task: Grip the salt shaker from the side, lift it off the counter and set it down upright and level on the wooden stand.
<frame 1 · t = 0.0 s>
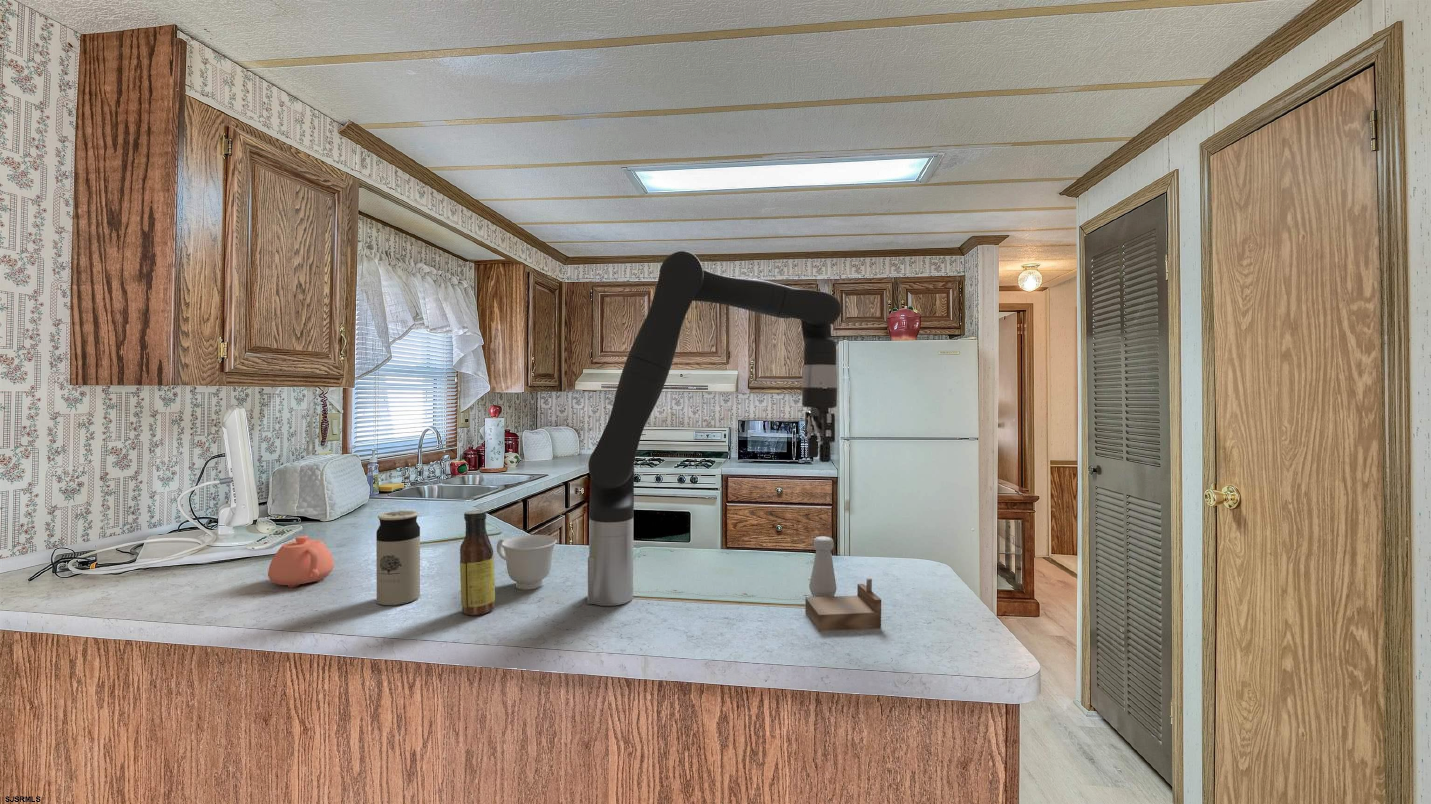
hand: (818, 459, 127), 29 cm above the counter, tool pointing down, fingers open, 8 cm apart
salt shaker: (822, 598, 124), on the counter
sugar bowl: (303, 582, 131), on the counter
wooden stand: (841, 620, 112), on the counter
teacup: (524, 585, 131), on the counter
sauce bottle: (477, 611, 115), on the counter
travel mug: (398, 600, 121), on the counter
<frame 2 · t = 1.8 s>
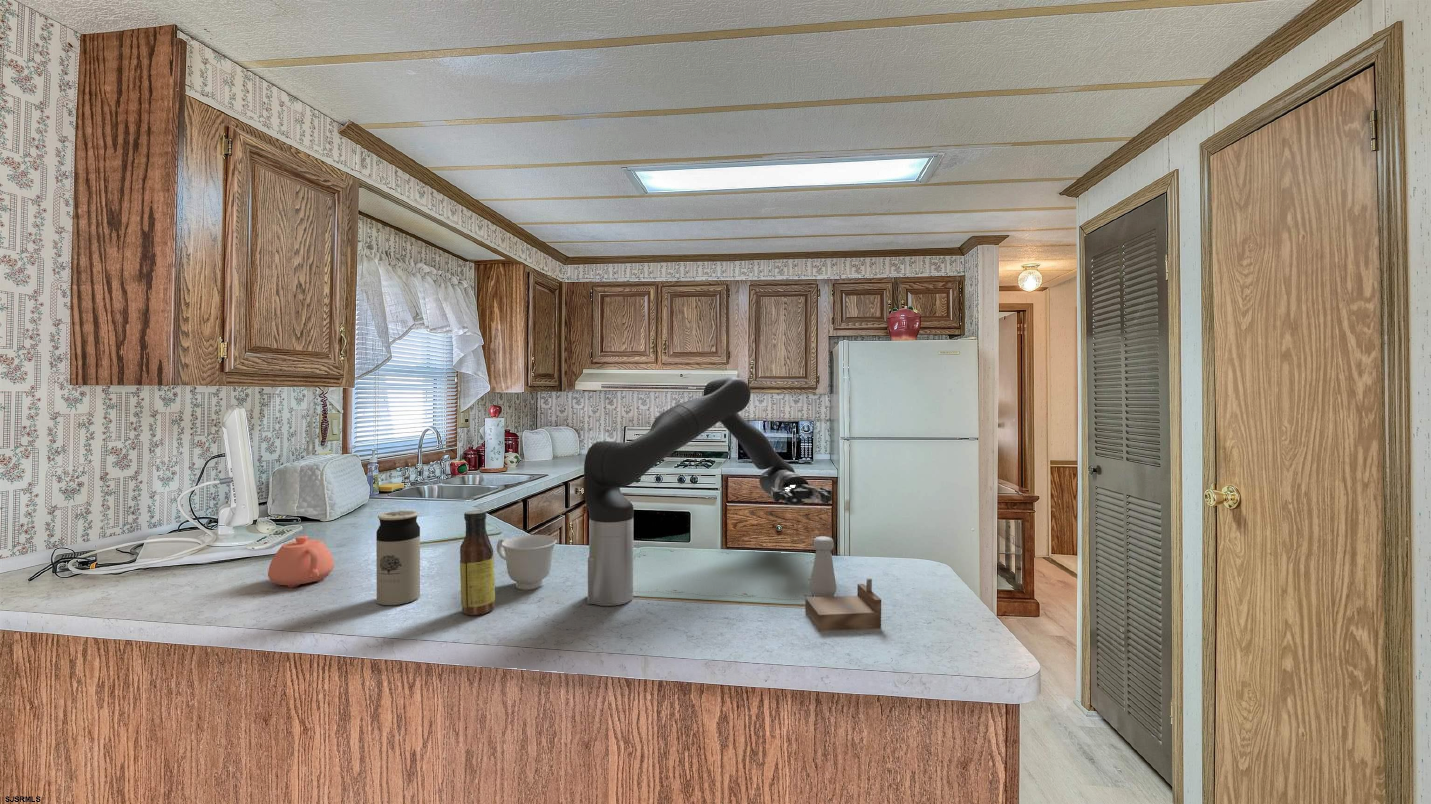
hand: (809, 499, 134), 19 cm above the counter, tool horizontal, fingers open, 8 cm apart
nothing on the counter moved.
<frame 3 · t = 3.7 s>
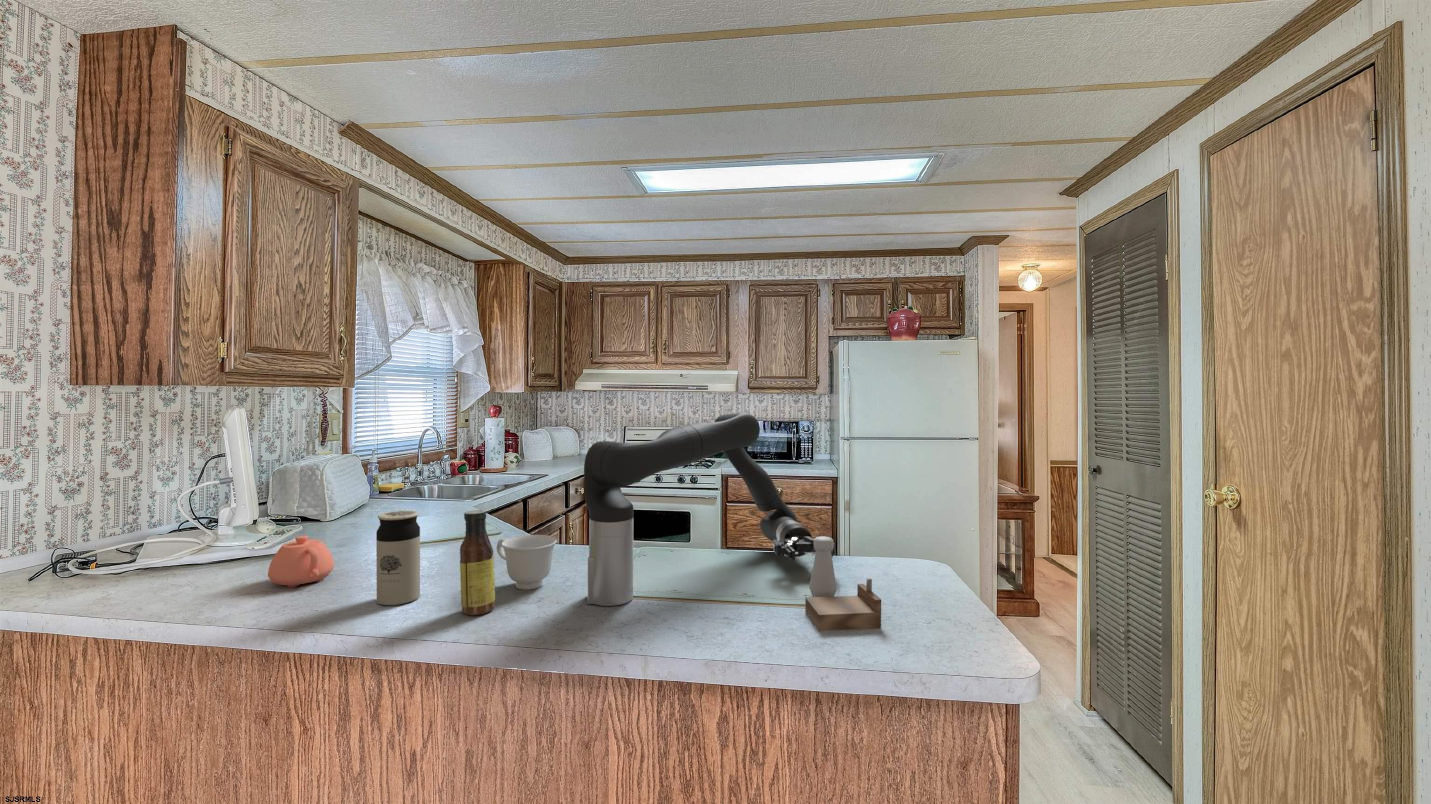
hand: (812, 555, 131), 7 cm above the counter, tool horizontal, fingers open, 8 cm apart
nothing on the counter moved.
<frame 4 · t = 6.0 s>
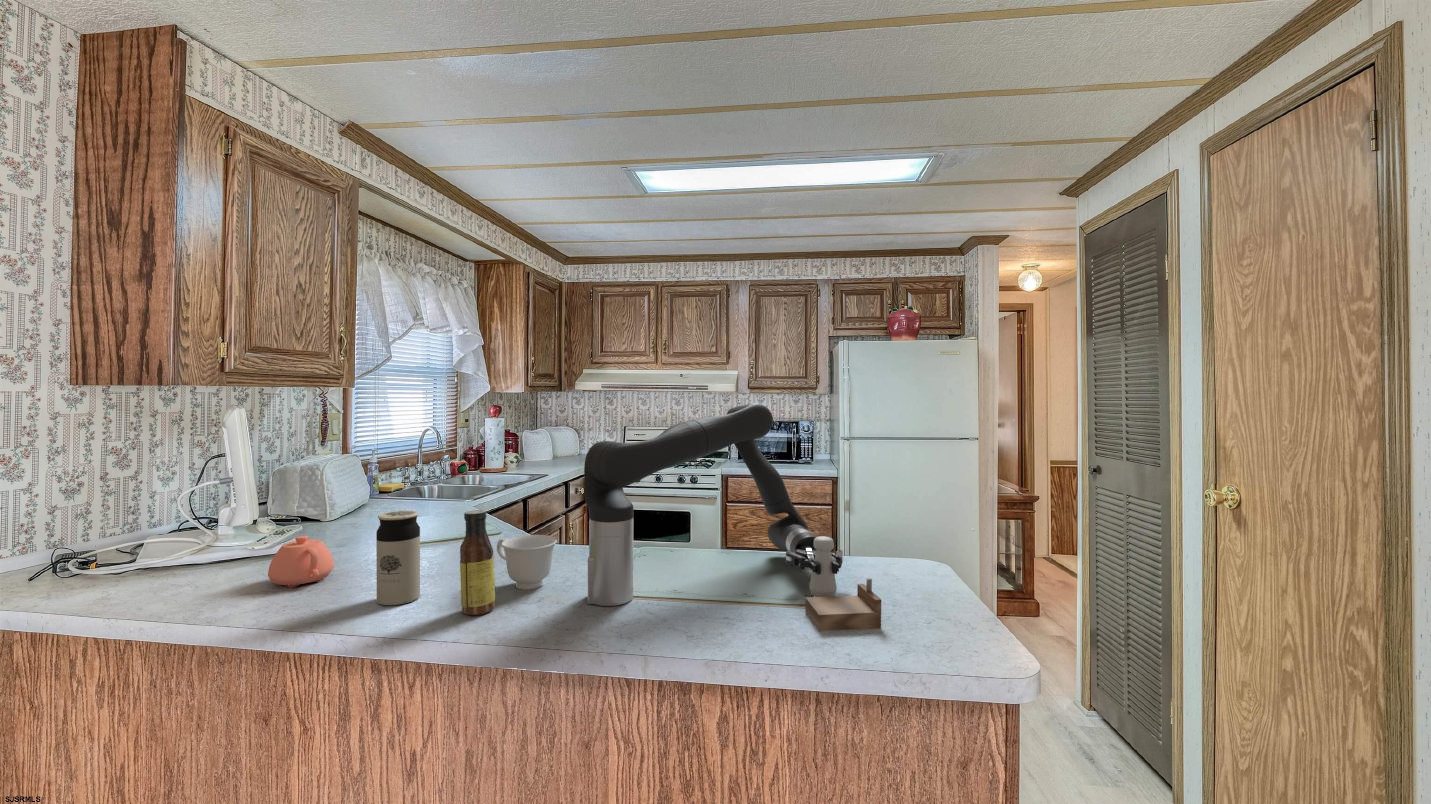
hand: (827, 569, 121), 7 cm above the counter, tool horizontal, fingers closed on salt shaker, 3 cm apart
salt shaker: (822, 598, 124), on the counter, touching gripper
everything else where it was.
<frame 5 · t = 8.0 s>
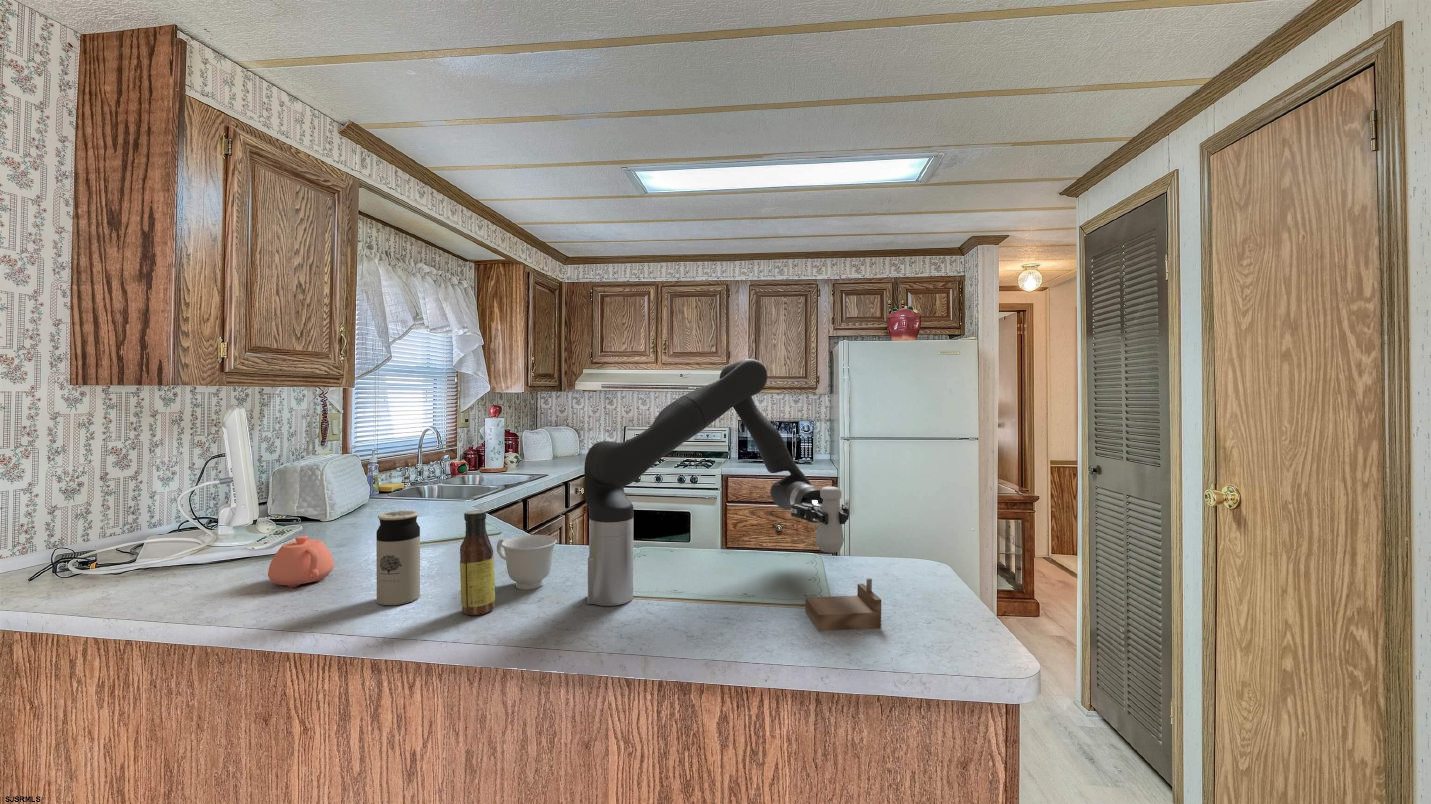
hand: (835, 519, 116), 19 cm above the counter, tool horizontal, fingers closed on salt shaker, 3 cm apart
salt shaker: (829, 550, 119), point 11 cm above the counter, touching gripper
everything else where it was.
when the fingers open (11 cm above the counter, at t = 10.1 s): salt shaker drops 1 cm, resting on wooden stand.
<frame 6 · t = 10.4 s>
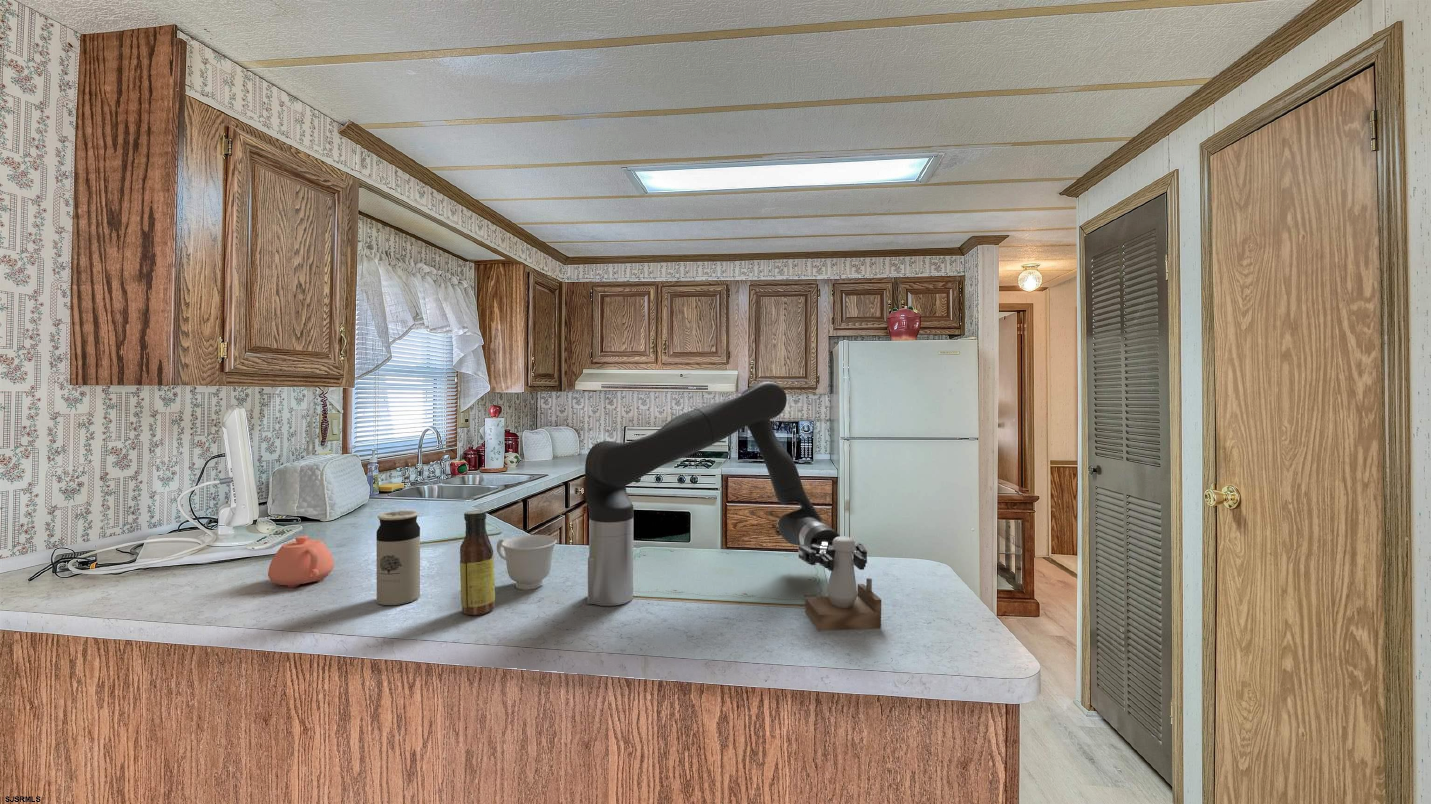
hand: (847, 565, 109), 11 cm above the counter, tool horizontal, fingers open, 5 cm apart
salt shaker: (841, 604, 112), point 3 cm above the counter, touching wooden stand
everything else where it was.
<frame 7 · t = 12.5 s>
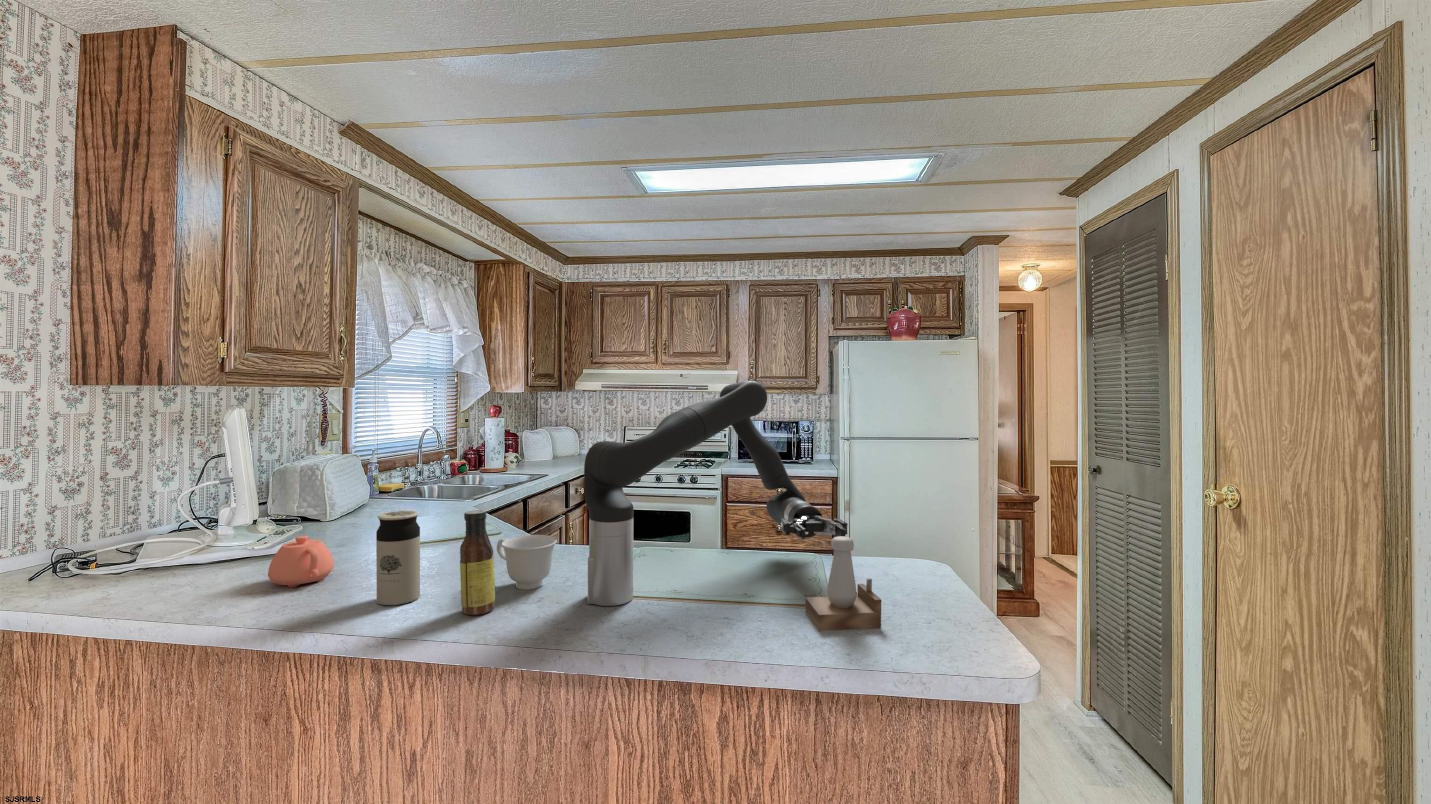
hand: (823, 534, 123), 14 cm above the counter, tool horizontal, fingers open, 8 cm apart
nothing on the counter moved.
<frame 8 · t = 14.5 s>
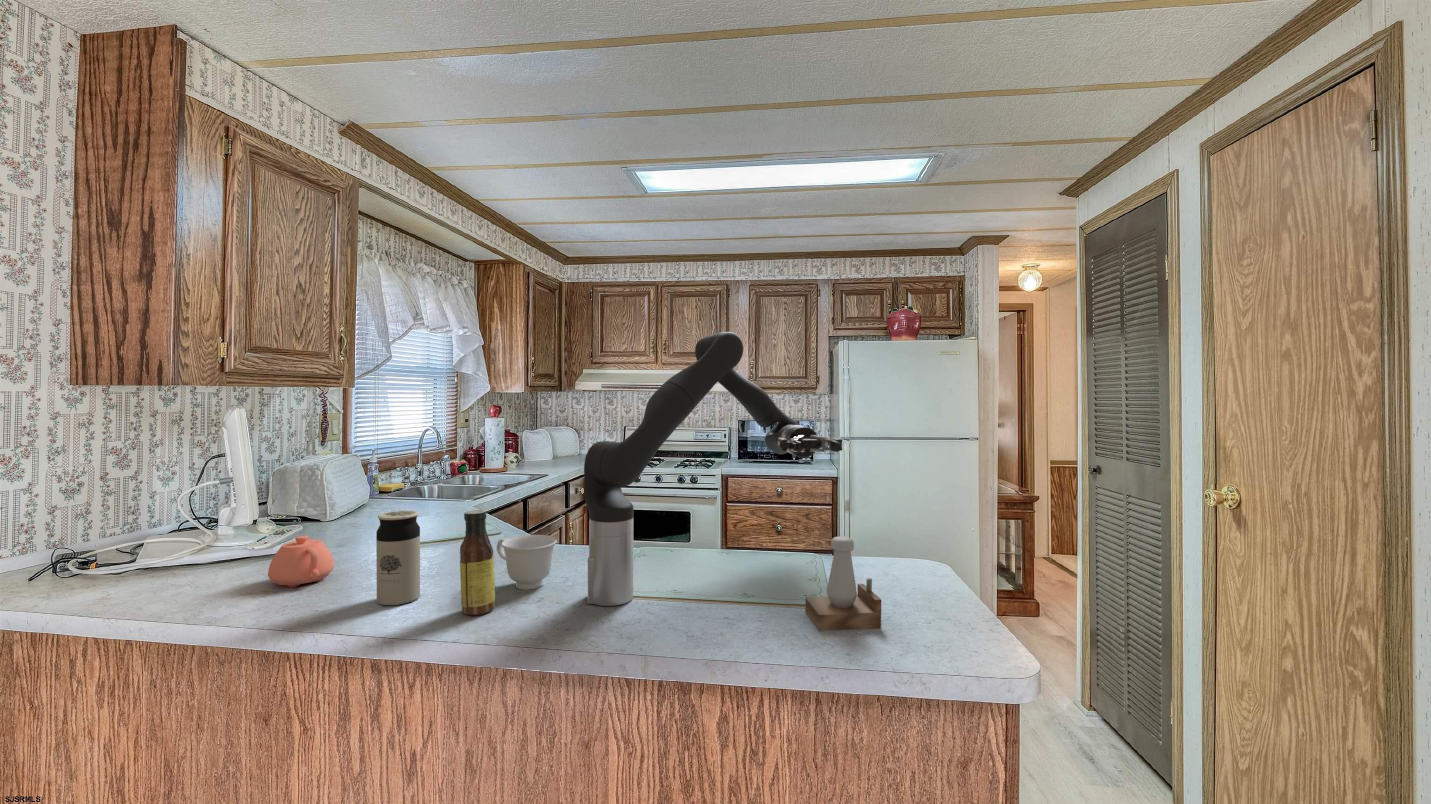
hand: (818, 447, 127), 32 cm above the counter, tool horizontal, fingers open, 8 cm apart
nothing on the counter moved.
at the end: salt shaker inside the target area on the wooden stand (0.2 cm from its centre), point 2.8 cm above the wooden stand's base; salt shaker tilted 0°; the gripper is holding nothing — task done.
